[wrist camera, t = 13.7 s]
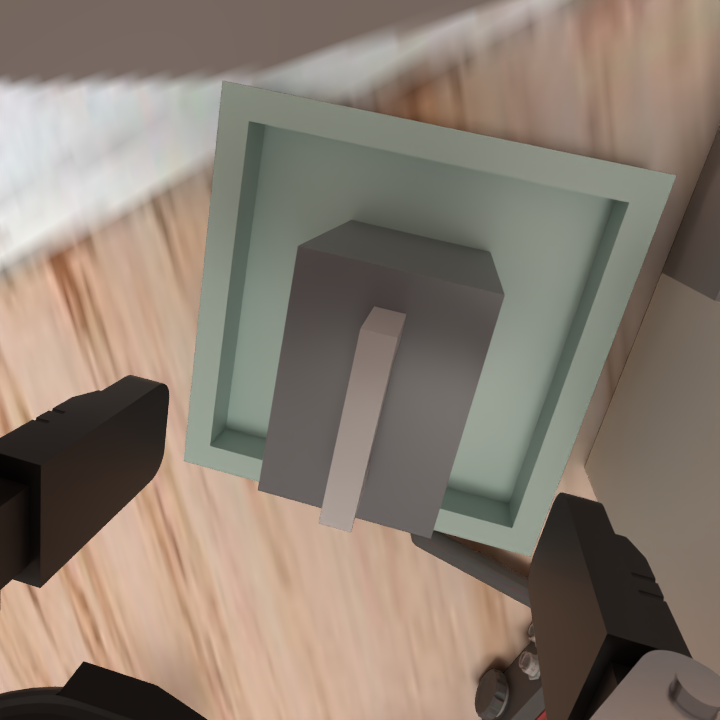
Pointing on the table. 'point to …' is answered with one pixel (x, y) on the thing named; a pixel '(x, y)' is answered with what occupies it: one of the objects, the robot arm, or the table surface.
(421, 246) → the block
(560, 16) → the table surface
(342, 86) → the table surface
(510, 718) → the walkie-talkie
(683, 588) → the printer
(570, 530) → the robot arm
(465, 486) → the tray
